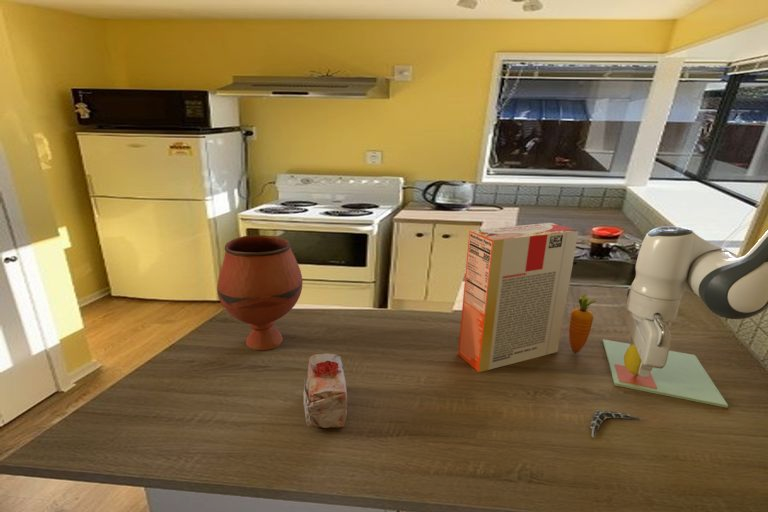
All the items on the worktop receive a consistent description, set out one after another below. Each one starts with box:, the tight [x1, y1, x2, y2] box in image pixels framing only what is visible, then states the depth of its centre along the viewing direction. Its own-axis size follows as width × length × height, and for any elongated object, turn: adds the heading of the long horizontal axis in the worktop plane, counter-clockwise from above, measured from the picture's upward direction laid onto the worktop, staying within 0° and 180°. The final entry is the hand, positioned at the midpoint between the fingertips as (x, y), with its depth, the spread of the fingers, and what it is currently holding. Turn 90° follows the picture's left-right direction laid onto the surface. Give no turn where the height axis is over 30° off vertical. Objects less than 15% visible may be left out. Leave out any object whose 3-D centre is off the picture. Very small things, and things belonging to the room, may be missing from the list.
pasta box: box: [457, 222, 579, 373], centre depth 96 cm, size 23×8×30 cm, turn 114°
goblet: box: [216, 234, 304, 351], centre depth 99 cm, size 19×19×25 cm
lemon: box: [624, 344, 652, 376], centre depth 90 cm, size 6×6×8 cm
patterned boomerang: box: [589, 409, 644, 438], centre depth 78 cm, size 13×1×5 cm
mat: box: [601, 338, 729, 409], centre depth 95 cm, size 20×20×1 cm
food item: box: [302, 352, 348, 429], centre depth 78 cm, size 14×8×10 cm, turn 11°
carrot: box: [568, 293, 596, 354], centre depth 99 cm, size 5×5×15 cm
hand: (637, 363), depth 91 cm, fingers open, 8 cm apart
